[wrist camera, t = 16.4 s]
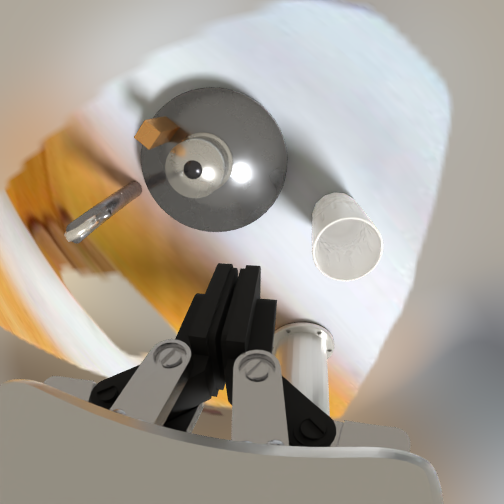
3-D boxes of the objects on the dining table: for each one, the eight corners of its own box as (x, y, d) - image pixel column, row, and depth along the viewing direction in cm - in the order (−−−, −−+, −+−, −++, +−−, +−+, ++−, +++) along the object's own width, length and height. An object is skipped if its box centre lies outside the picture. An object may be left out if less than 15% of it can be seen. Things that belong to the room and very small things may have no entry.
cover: (245, 156, 32) (240, 163, 29) (210, 202, 36) (202, 214, 32) (195, 120, 31) (183, 123, 27) (164, 168, 34) (151, 177, 31)
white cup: (304, 191, 36) (308, 221, 28) (362, 185, 35) (383, 213, 26) (311, 243, 40) (315, 284, 31) (364, 237, 38) (381, 277, 30)
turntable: (318, 157, 33) (325, 170, 27) (223, 250, 41) (210, 279, 35) (203, 60, 28) (182, 51, 22) (125, 169, 37) (96, 185, 30)
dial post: (127, 200, 40) (64, 250, 27) (121, 186, 39) (55, 232, 26) (157, 188, 39) (95, 237, 25) (151, 173, 38) (85, 217, 24)
